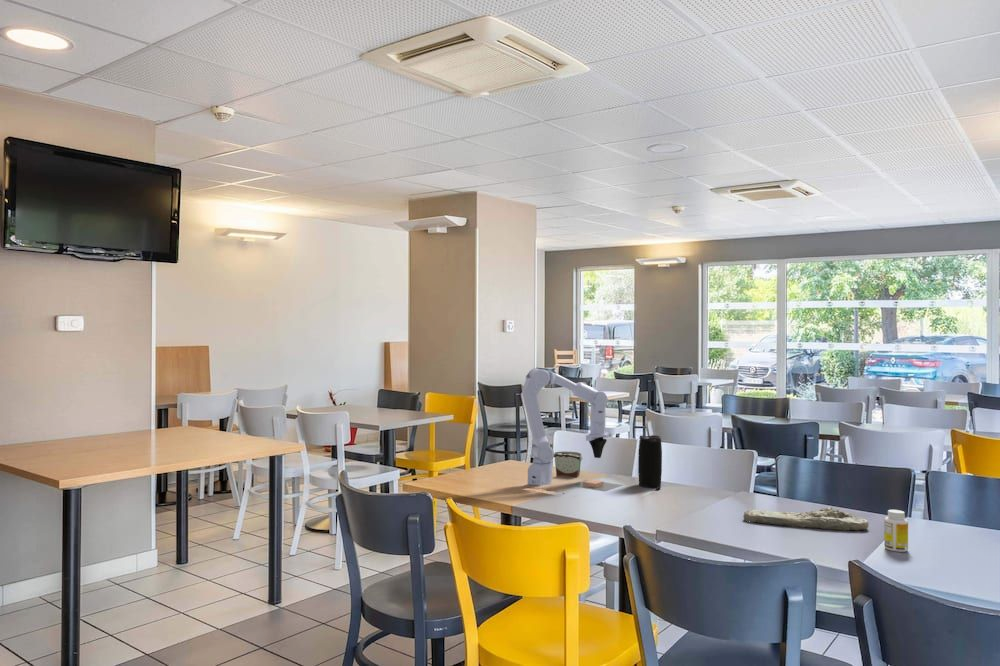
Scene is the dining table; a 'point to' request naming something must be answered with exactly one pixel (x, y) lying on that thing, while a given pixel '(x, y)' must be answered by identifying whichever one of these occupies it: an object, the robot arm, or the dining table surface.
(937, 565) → the dining table surface
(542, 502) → the dining table surface
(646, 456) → the portable speaker
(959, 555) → the dining table surface
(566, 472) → the food container
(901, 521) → the supplement bottle
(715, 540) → the dining table surface
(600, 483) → the tile
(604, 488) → the slate board
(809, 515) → the long grey stone
